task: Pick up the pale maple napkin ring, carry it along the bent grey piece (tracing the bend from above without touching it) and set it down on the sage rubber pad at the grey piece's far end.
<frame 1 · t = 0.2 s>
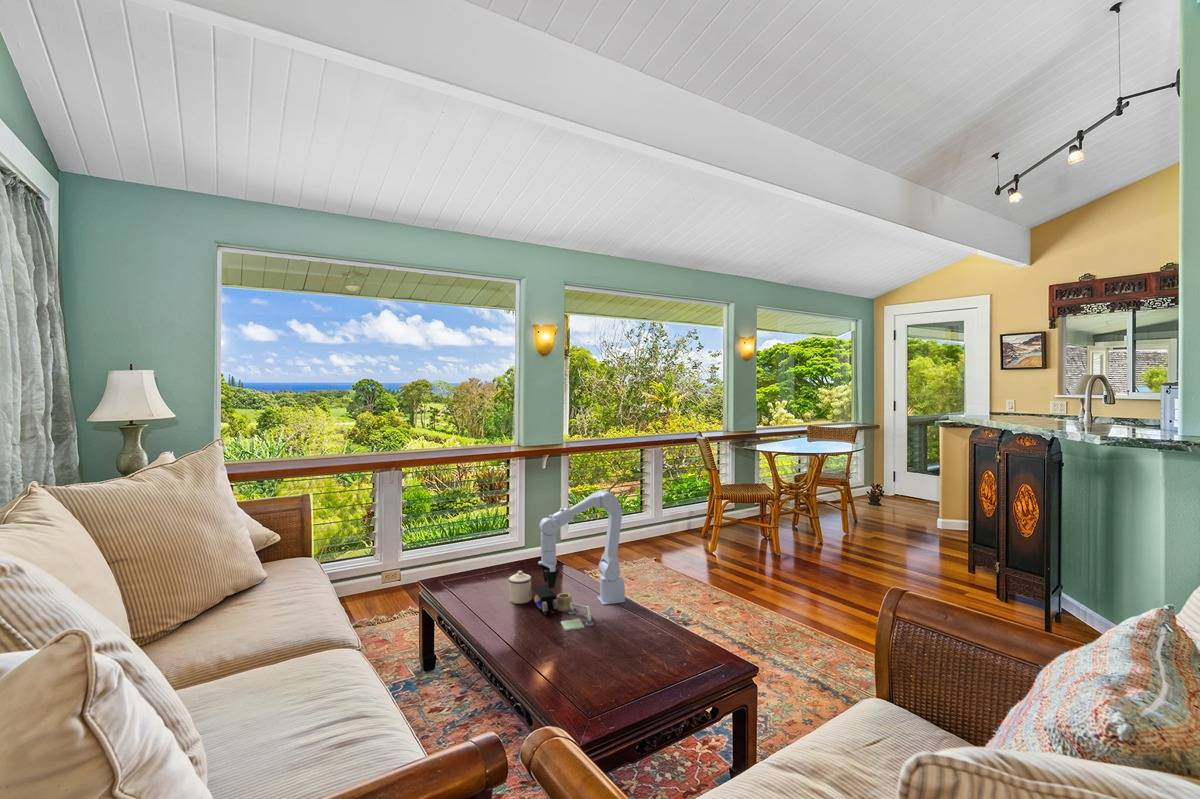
hand: (549, 584, 212), 10 cm above the table, fingers open, 7 cm apart
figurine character: (545, 609, 213), on the table
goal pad: (572, 625, 198), on the table
teacup with lid: (519, 599, 224), on the table
grey piece: (581, 617, 205), on the table
maple ring: (564, 608, 213), on the table
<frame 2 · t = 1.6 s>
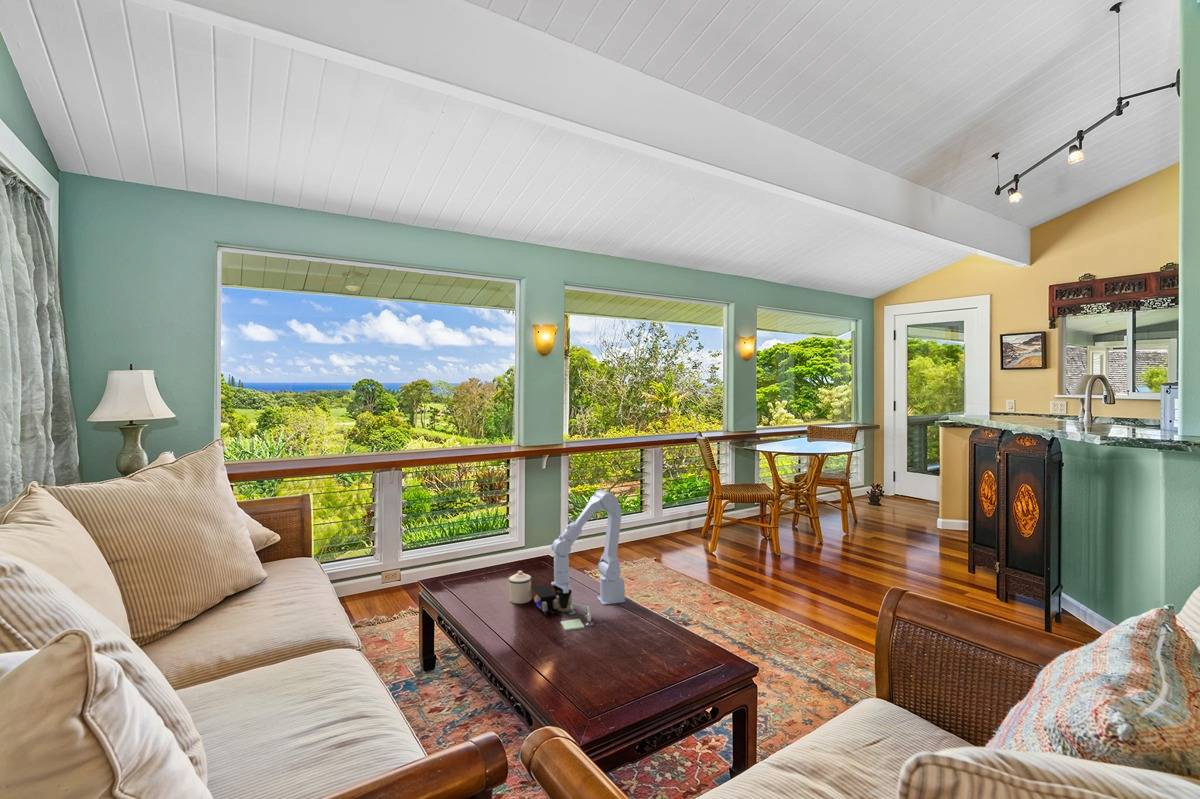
hand: (562, 605, 213), 1 cm above the table, fingers closed on maple ring, 6 cm apart
maple ring: (564, 608, 213), on the table, touching gripper
everything else where it was.
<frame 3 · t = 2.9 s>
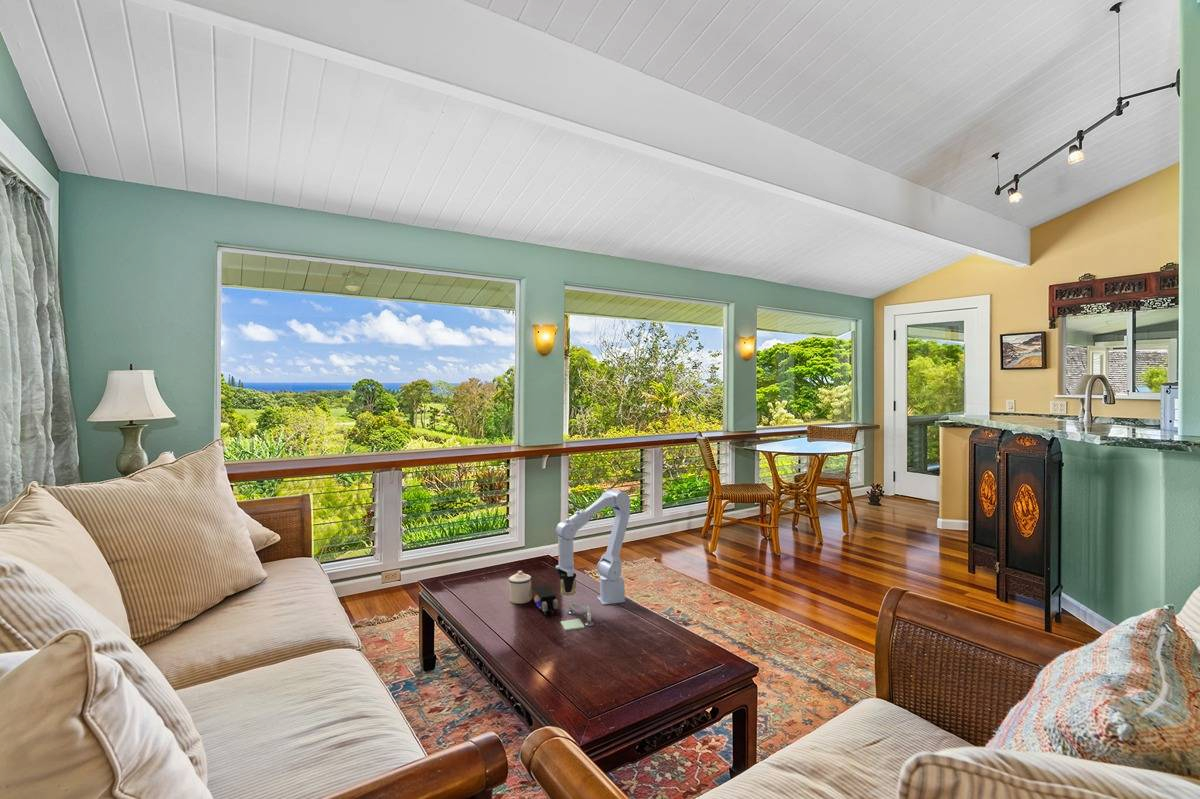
hand: (566, 589, 211), 8 cm above the table, fingers closed on maple ring, 6 cm apart
maple ring: (568, 592, 211), point 7 cm above the table, touching gripper
everything else where it was.
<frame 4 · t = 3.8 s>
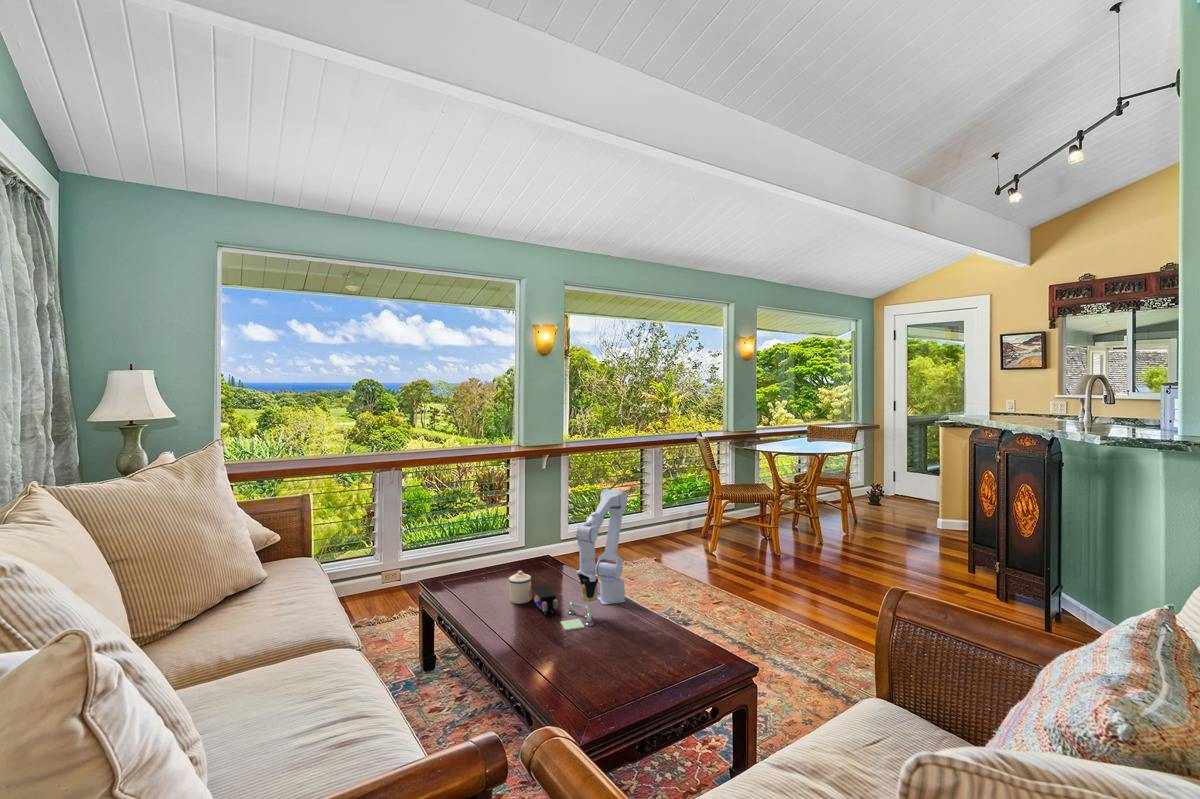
hand: (587, 594, 204), 8 cm above the table, fingers closed on maple ring, 5 cm apart
maple ring: (589, 598, 205), point 7 cm above the table, touching gripper
everything else where it was.
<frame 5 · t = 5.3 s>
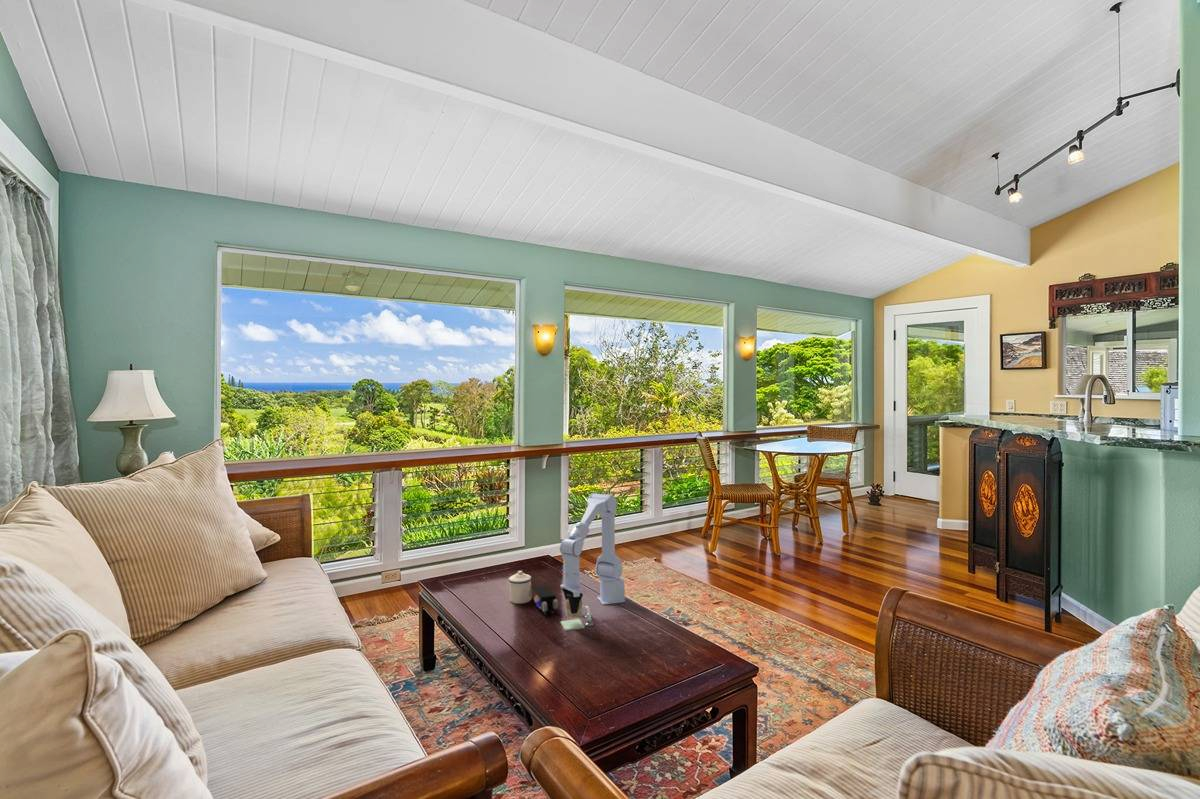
hand: (572, 609, 197), 6 cm above the table, fingers closed on maple ring, 5 cm apart
maple ring: (574, 613, 198), point 4 cm above the table, touching gripper
everything else where it was.
when the fingers open (4 cm above the table, at t = 6.2 s): maple ring drops 1 cm, resting on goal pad.
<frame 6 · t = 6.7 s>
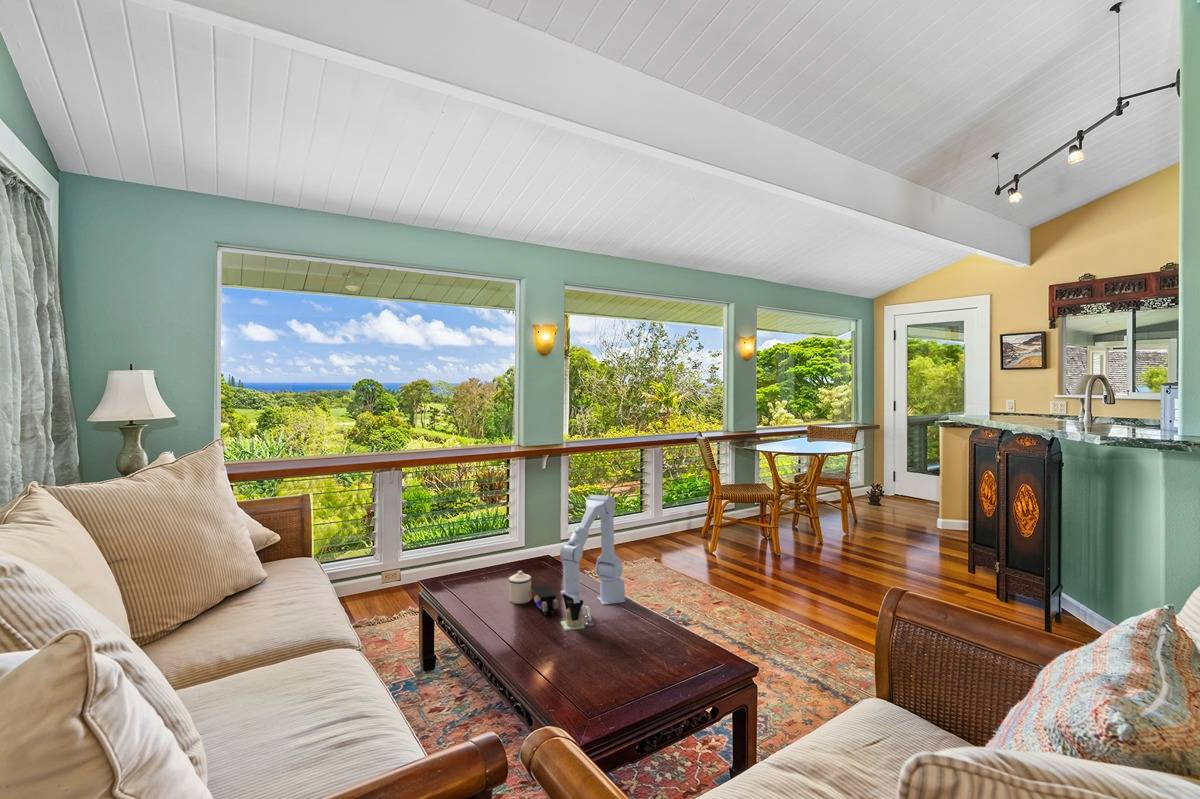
hand: (572, 615, 197), 4 cm above the table, fingers open, 7 cm apart
maple ring: (574, 623, 198), point 1 cm above the table, touching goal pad
everything else where it was.
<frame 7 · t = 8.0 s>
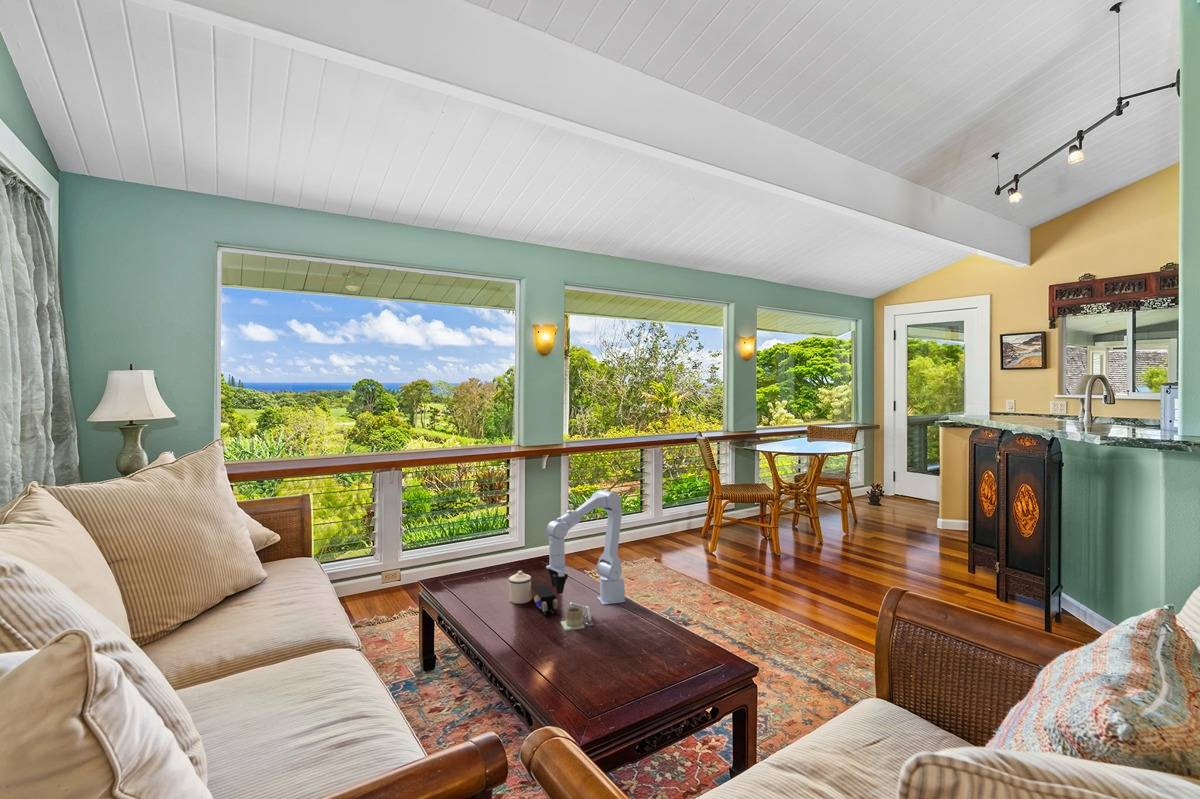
hand: (557, 589, 206), 10 cm above the table, fingers open, 7 cm apart
nothing on the table moved.
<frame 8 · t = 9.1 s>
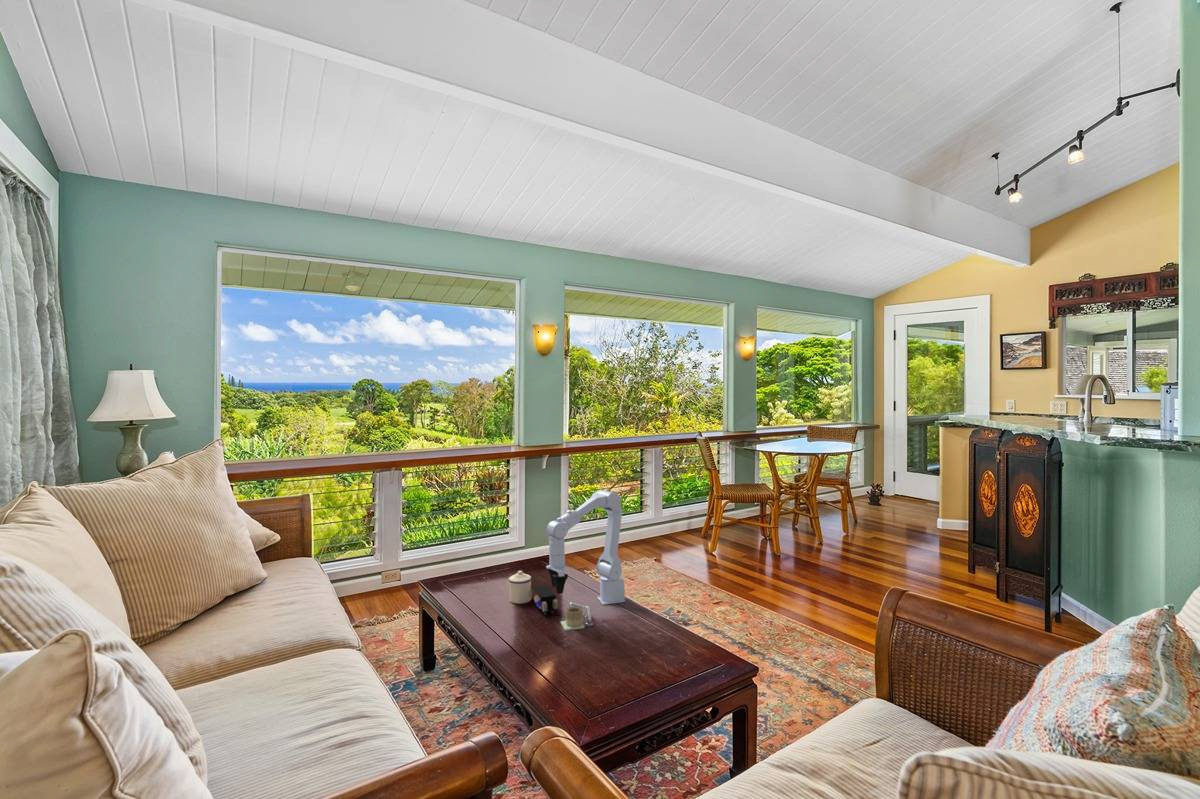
hand: (557, 589, 206), 10 cm above the table, fingers open, 7 cm apart
nothing on the table moved.
at the end: maple ring inside the target area on the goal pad (0.7 cm from its centre), point 0.6 cm above the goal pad's base; maple ring tilted 0°; maple ring touching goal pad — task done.
